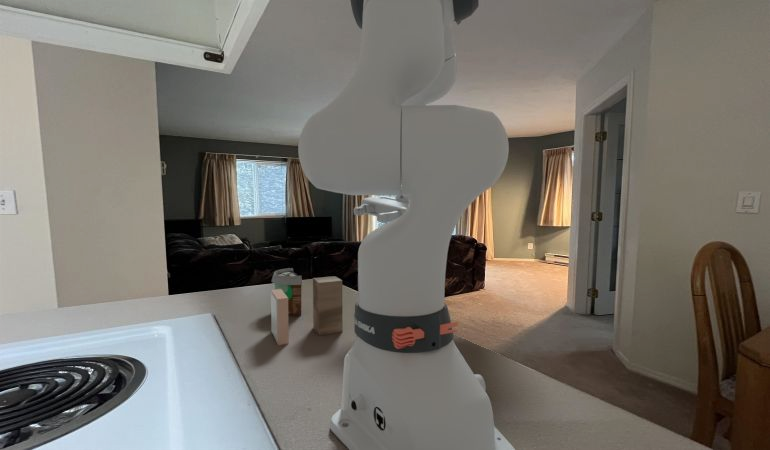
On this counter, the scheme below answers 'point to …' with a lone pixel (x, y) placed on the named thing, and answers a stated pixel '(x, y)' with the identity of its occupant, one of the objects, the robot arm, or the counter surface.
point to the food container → (289, 289)
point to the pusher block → (327, 305)
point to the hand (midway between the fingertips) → (366, 215)
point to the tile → (279, 316)
